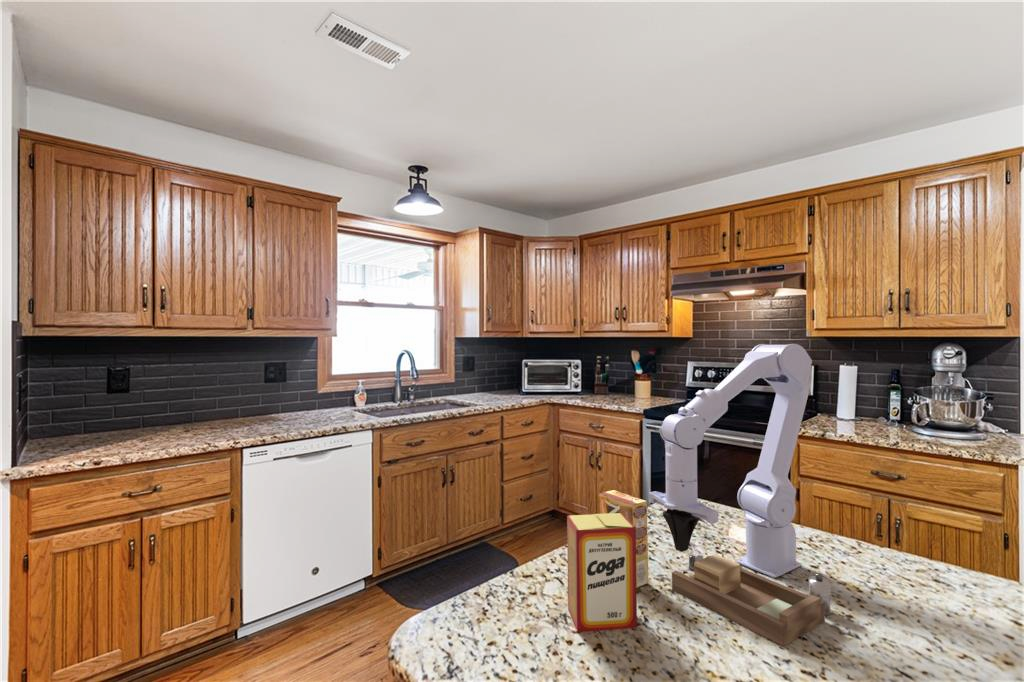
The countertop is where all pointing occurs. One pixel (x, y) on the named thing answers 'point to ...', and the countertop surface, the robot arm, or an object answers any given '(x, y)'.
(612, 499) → the candy box
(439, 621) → the countertop surface
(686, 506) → the robot arm
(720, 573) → the tan wooden block
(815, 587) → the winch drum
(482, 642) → the countertop surface
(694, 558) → the crank handle
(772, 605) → the bay
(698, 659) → the countertop surface
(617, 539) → the baking soda box
